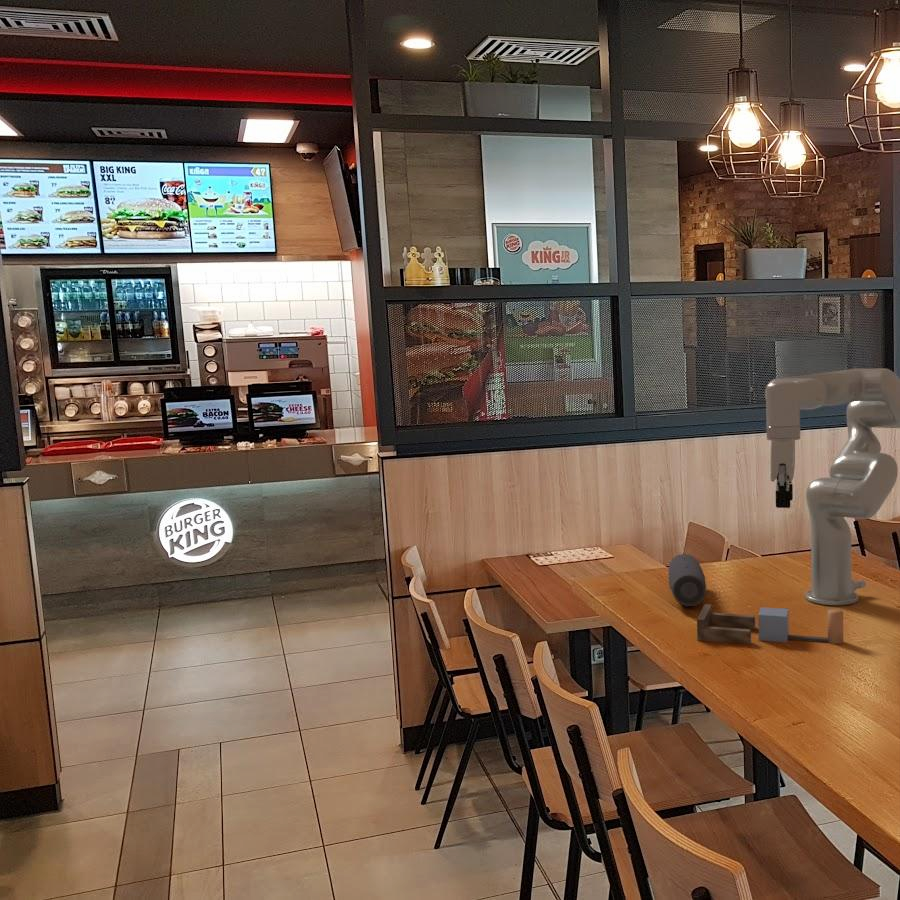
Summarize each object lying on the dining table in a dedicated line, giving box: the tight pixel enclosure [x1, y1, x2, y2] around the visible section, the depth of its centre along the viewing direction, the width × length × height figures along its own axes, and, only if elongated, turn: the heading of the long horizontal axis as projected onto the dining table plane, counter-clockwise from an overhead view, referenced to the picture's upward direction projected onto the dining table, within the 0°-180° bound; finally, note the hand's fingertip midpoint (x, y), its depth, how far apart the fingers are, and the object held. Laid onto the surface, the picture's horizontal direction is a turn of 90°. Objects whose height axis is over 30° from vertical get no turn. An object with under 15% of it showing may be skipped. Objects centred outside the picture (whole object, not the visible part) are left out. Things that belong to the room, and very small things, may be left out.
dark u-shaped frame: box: [696, 603, 756, 645], centre depth 207 cm, size 12×12×5 cm
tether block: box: [757, 606, 844, 645], centre depth 201 cm, size 18×6×7 cm, turn 66°
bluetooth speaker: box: [668, 553, 707, 607], centre depth 237 cm, size 23×9×10 cm, turn 168°
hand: (784, 503), depth 214 cm, fingers open, 9 cm apart
